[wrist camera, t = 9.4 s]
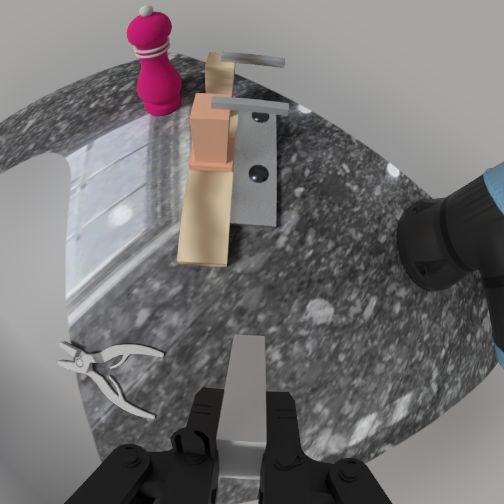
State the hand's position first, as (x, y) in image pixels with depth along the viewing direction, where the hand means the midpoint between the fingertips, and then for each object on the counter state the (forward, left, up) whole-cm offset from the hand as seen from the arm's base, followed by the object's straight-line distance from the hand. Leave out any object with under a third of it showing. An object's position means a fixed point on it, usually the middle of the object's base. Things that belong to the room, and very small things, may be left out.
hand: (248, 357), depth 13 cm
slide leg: (+2, -23, -18) cm, 29 cm away
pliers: (+17, +7, -20) cm, 27 cm away
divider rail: (+2, -21, -20) cm, 29 cm away
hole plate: (-2, -24, -20) cm, 31 cm away
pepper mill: (+14, -35, -20) cm, 43 cm away
